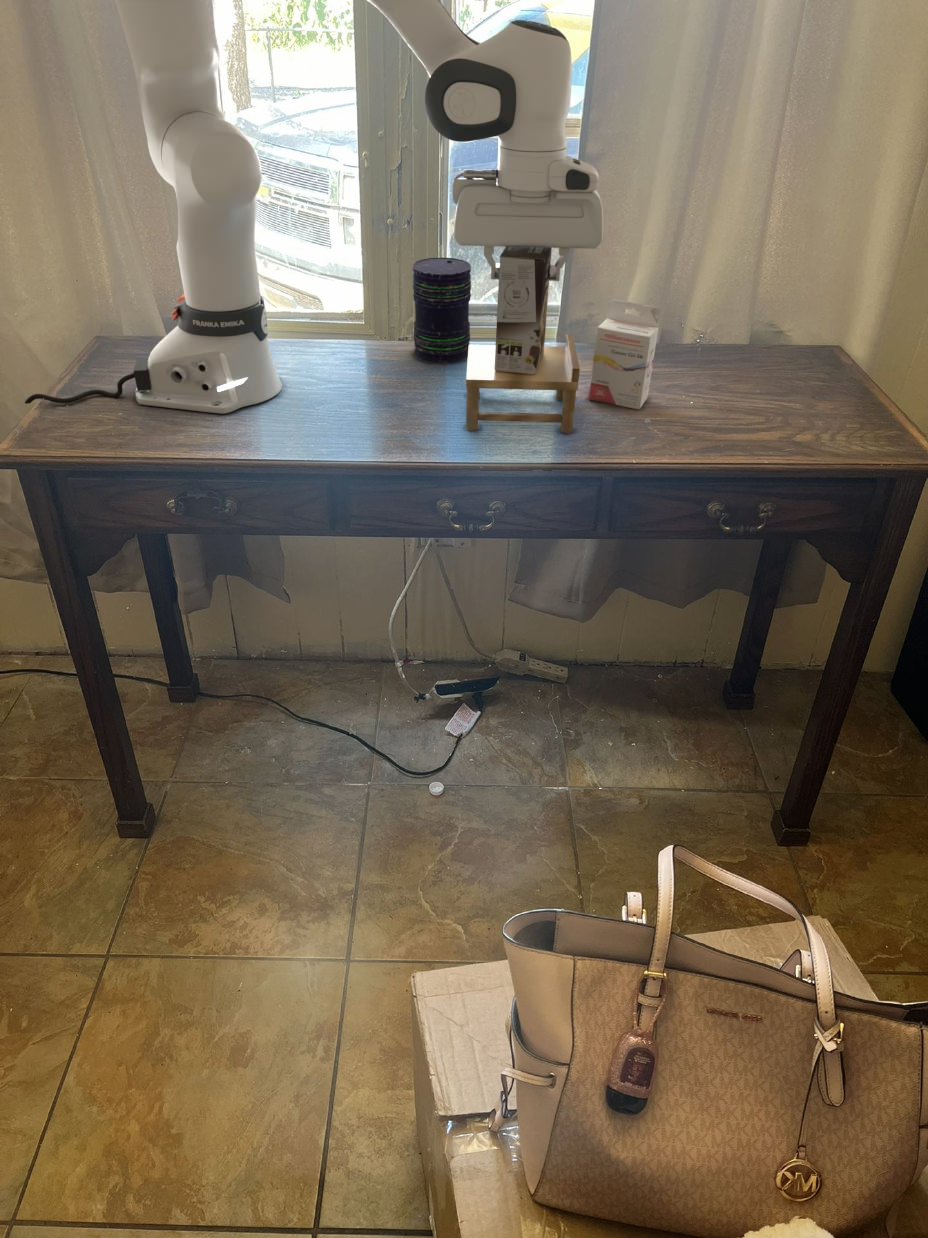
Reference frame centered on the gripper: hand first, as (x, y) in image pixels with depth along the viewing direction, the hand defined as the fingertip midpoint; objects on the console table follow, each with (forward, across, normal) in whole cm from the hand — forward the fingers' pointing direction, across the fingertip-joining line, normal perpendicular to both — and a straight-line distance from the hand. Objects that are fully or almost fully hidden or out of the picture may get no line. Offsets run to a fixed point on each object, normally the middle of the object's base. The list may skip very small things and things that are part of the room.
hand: (525, 279), depth 124 cm
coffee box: (+12, 0, 0) cm, 12 cm away
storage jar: (+20, -13, +24) cm, 34 cm away
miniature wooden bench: (+20, 0, 0) cm, 20 cm away
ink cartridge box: (+20, +16, +6) cm, 27 cm away
